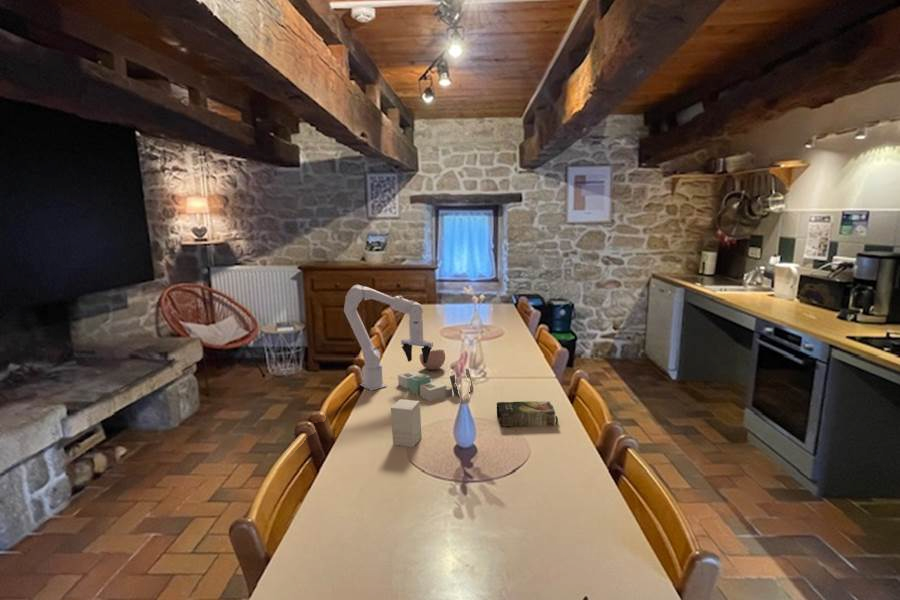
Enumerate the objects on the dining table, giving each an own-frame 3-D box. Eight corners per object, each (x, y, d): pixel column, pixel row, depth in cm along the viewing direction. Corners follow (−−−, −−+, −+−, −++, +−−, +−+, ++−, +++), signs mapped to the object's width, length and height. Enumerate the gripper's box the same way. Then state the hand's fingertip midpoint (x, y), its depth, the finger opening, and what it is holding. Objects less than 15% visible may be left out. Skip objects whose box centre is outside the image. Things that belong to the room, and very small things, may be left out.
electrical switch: (460, 397, 185) (458, 375, 184) (450, 396, 188) (448, 373, 187) (474, 390, 192) (472, 368, 191) (464, 389, 195) (462, 367, 194)
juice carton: (552, 414, 168) (552, 398, 167) (559, 426, 158) (559, 409, 157) (496, 416, 167) (496, 400, 166) (500, 429, 158) (499, 412, 157)
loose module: (409, 391, 193) (409, 377, 192) (422, 387, 197) (422, 373, 196) (417, 394, 189) (417, 380, 188) (430, 390, 194) (429, 375, 193)
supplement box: (422, 437, 153) (420, 400, 150) (413, 447, 146) (411, 409, 144) (401, 434, 155) (400, 398, 153) (392, 444, 148) (389, 407, 146)
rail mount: (397, 384, 202) (396, 373, 201) (417, 378, 208) (416, 368, 207) (431, 402, 181) (431, 390, 180) (452, 395, 187) (452, 384, 186)
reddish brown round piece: (439, 363, 228) (438, 341, 226) (449, 370, 217) (449, 346, 215) (416, 367, 223) (415, 344, 221) (426, 375, 212) (425, 350, 210)
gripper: (396, 331, 196) (398, 362, 199) (426, 334, 190) (428, 366, 193) (405, 328, 203) (406, 358, 205) (434, 330, 196) (435, 361, 199)
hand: (417, 361), depth 199 cm, fingers open, 7 cm apart
